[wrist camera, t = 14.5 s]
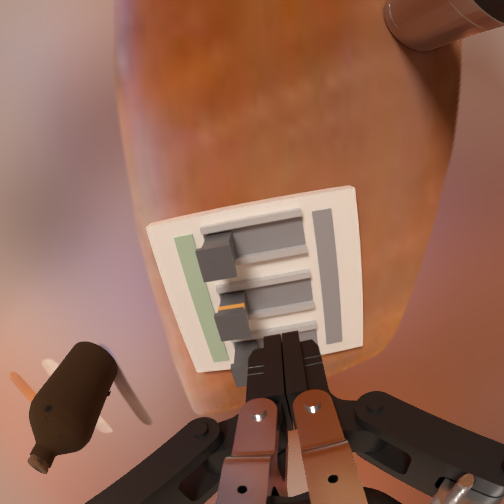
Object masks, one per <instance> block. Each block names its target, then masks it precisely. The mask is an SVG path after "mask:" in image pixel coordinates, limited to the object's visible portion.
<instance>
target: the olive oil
mask: <svg viewBox="0 0 504 504" xmlns="http://www.w3.org/2000/svg"><path fill="white" fill-rule="evenodd" d="M116 374H117V366H116V363H115V361H114V360H113V358H112V357H111V355H110V354H109V353H108V352H107V351H106V350H104V349H103V348H102V347H100V346H98V345H96V344H94V343H91V342H79V343H77V344H76V345H75V346H74V347H73V348H72V349H71V351H70V352H69V353H68V355H67V356H66V357H65V359H64V360H63V361H62V363H61V364H60V365H59V366H58V368H57V369H56V370H55V371H54V373H53V374H52V375H51V376H50V378H49V379H48V380H47V382H46V383H45V384H44V386H43V387H42V388H41V389H40V391H39V392H38V393H37V394H36V396H35V397H34V399H33V400H32V402H31V406H30V411H29V420H30V424H31V427H32V430H33V434H34V437H35V440H36V444H35V446H34V448H33V449H32V451H31V453H30V455H31V456H30V458H29V459H28V463H29V464H30V465H31V466H32V467H33V468H34V469H36V470H37V471H39V472H41V473H43V474H47V472H48V468H50V467H51V465H52V463H53V460H54V458H55V456H57V455H61V454H67V453H72V452H76V451H79V450H81V449H82V448H83V447H84V446H85V445H86V444H87V443H88V442H89V441H90V439H91V437H92V434H93V432H94V429H95V426H96V423H97V421H98V418H99V415H100V413H101V410H102V408H103V405H104V402H105V400H106V397H107V396H109V395H110V392H111V391H110V392H109V390H110V387H111V385H112V383H113V381H114V379H115V376H116Z"/></svg>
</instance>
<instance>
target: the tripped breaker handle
mask: <svg viewBox="0 0 504 504" xmlns="http://www.w3.org/2000/svg"><path fill="white" fill-rule="evenodd" d="M214 319H215V323H216V326H217V329H218V332H219V335H220V339H221V342H223V341H231V340H238V339H245V338H251V330H250V324H249V307H248V303H247V299H246V295H245V290H244V291H238V292H231V293H225V294H222V295H221V300H220V306H219V307H218V313H214Z"/></svg>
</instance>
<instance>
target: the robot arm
mask: <svg viewBox="0 0 504 504" xmlns="http://www.w3.org/2000/svg"><path fill="white" fill-rule="evenodd" d="M384 18H385V22H386V24H387V26H388V28H389V30H390V31H391V33H392V34H393V35H394V36H395V37H396V38H397V39H398V40H399V41H400V42H401V43H402V44H404V45H405V46H407V47H409V48H411V49H413V50H416V51H421V52H426V51H431V50H433V49H436V48H439V47H441V46H444V45H447V44H450V43H452V42H455V41H458V40H461V39H464V38H467V37H470V36H473V35H476V34H479V33H482V32H486V31H489V30H492V29H495V28H498V27H502V26H504V0H388V1H387V2H386V3H385V6H384ZM263 342H264V348H261V349H254V350H253V351H252V353H251V355H250V356H249V358H248V373H247V374H248V376H247V390H246V403H245V404H244V405H243V406H242V407H241V409H240V412H239V414H238V415H236V416H235V417H233V418H231V419H228V420H225V421H222V422H219V423H217V422H216V421H215V420H214V419H211V418H208V417H201V418H197V419H195V420H192V421H191V422H189V423H188V424H187V425H186V426H185V427H184V428H182V429H181V430H180V431H179V432H178V433H177V434H175V435H174V436H173V437H172V438H170V439H169V440H168V441H167V442H166V443H164V444H163V445H162V446H161V447H160V448H158V449H157V450H156V451H155V452H153V453H152V454H151V455H150V456H148V457H147V458H146V459H145V460H143V461H142V462H141V463H140V464H138V465H137V466H136V467H134V468H133V469H132V470H130V471H129V472H128V473H127V474H125V475H124V476H123V477H121V478H120V479H119V480H117V481H116V482H115V483H113V484H112V485H110V486H109V487H108V488H107V489H105V490H103V491H102V492H101V493H99V494H98V495H96V496H95V497H94V498H92V499H91V500H89V501H88V502H86V503H85V504H204V503H205V502H206V501H207V500H208V499H209V498H211V497H212V496H213V495H214V494H215V493H216V492H217V491H218V492H217V498H216V502H215V504H402V503H400V502H398V501H397V500H395V499H394V498H392V497H391V496H389V495H387V494H386V493H383V492H381V491H379V490H376V489H372V488H367V487H363V486H362V483H361V479H360V476H359V473H358V470H357V467H356V463H355V460H354V457H353V454H352V452H356V454H357V455H358V456H360V457H361V458H363V459H364V460H366V461H368V462H369V463H371V464H373V465H374V466H376V467H378V468H379V469H381V470H383V471H385V472H386V473H388V474H390V475H392V476H393V477H395V478H397V479H399V480H401V481H402V482H404V483H406V484H408V485H410V486H412V487H414V488H415V489H417V490H419V491H421V492H423V493H425V494H427V495H429V496H431V497H432V499H431V503H430V504H500V503H501V501H502V499H503V497H504V444H502V443H499V442H496V441H494V440H491V439H489V438H486V437H484V436H481V435H479V434H476V433H474V432H472V431H469V430H467V429H464V428H462V427H460V426H457V425H455V424H452V423H450V422H448V421H446V420H443V419H441V418H439V417H436V416H434V415H432V414H430V413H427V412H425V411H423V410H421V409H419V408H417V407H414V406H412V405H410V404H408V403H406V402H404V401H401V400H399V399H397V398H395V397H393V396H391V395H389V394H387V393H385V392H380V391H373V392H369V393H366V394H364V395H362V396H361V397H360V398H359V399H358V400H357V401H349V400H341V399H338V398H336V397H335V396H333V395H332V394H331V393H330V391H329V389H328V385H327V381H326V376H325V371H324V367H323V363H322V358H321V354H320V350H319V346H318V345H317V344H316V343H315V342H314V341H313V340H312V339H310V340H305V341H300V339H299V333H298V330H296V331H291V332H285V333H282V338H281V334H275V335H269V336H264V338H263ZM293 423H294V426H295V429H297V430H298V435H299V441H300V446H301V453H302V459H303V464H304V469H305V475H306V479H307V485H308V490H309V491H308V492H305V493H303V494H300V495H297V496H294V497H288V491H287V470H288V469H287V468H288V431H290V430H293Z"/></svg>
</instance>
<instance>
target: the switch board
mask: <svg viewBox="0 0 504 504" xmlns="http://www.w3.org/2000/svg"><path fill="white" fill-rule="evenodd" d="M146 230H147V233H148V237H149V240H150V243H151V246H152V250H153V253H154V256H155V259H156V262H157V265H158V269H159V272H160V275H161V278H162V281H163V284H164V286H165V289H166V292H167V295H168V298H169V301H170V304H171V306H172V309H173V312H174V315H175V317H176V320H177V323H178V326H179V328H180V331H181V333H182V336H183V339H184V341H185V344H186V346H187V349H188V351H189V354H190V356H191V359H192V361H193V364H194V366H195V369H196V371H197V373H198V372H209V371H219V370H228V369H231V371H232V374H233V377H234V380H235V383H236V386H237V387H242V386H247V376H248V374H247V373H248V358H249V356H250V355H251V353H252V351H253V350H254V349H261V348H264V342H263V338H264V336H269V335H275V334H281V338H282V333H285V332H291V331H296V330H298V333H299V339H300V341H305V340H310V339H312V340H313V341H314V342H315V343H316V344H317V345H318V346H319V350H320V354H321V355H323V354H328V353H333V352H338V351H343V350H347V349H352V348H356V347H360V346H363V293H362V268H361V251H360V237H359V224H358V213H357V203H356V194H355V188H354V187H352V186H351V185H347V186H341V187H334V188H328V189H322V190H316V191H310V192H304V193H298V194H292V195H286V196H281V197H275V198H270V199H264V200H259V201H253V202H248V203H243V204H238V205H233V206H228V207H223V208H218V209H213V210H208V211H203V212H199V213H194V214H189V215H185V216H180V217H175V218H171V219H166V220H162V221H158V222H153V223H150V224H149V225H148V226H147V227H146ZM244 290H245V295H246V299H247V303H248V307H249V324H250V330H251V338H245V339H238V340H231V341H223V342H221V339H220V335H219V332H218V329H217V326H216V323H215V319H214V313H218V307H219V306H220V300H221V295H222V294H225V293H231V292H238V291H244Z"/></svg>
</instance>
